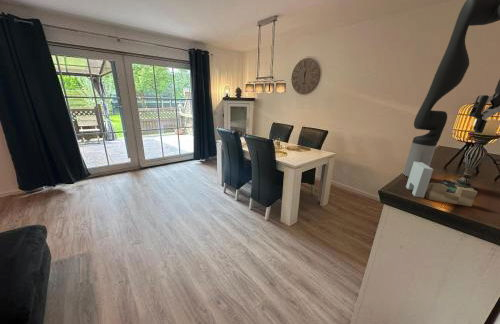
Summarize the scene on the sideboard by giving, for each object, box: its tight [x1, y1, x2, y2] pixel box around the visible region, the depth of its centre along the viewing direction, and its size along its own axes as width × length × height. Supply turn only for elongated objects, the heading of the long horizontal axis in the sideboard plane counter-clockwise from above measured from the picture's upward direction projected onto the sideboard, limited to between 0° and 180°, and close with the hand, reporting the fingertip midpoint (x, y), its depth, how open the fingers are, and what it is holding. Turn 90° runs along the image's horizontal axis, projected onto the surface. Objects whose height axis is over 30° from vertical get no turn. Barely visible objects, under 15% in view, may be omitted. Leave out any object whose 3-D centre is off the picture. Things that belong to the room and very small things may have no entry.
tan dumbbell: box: [425, 181, 478, 207], centre depth 77 cm, size 3×13×6 cm, turn 70°
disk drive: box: [437, 179, 476, 194], centre depth 89 cm, size 10×3×15 cm
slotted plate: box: [405, 161, 434, 199], centre depth 83 cm, size 10×3×12 cm, turn 160°
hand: (496, 134), depth 58 cm, fingers open, 8 cm apart
